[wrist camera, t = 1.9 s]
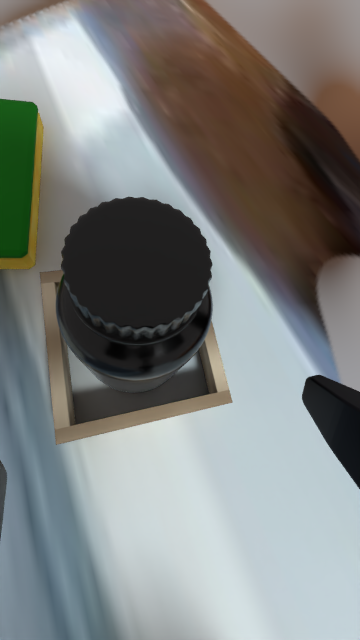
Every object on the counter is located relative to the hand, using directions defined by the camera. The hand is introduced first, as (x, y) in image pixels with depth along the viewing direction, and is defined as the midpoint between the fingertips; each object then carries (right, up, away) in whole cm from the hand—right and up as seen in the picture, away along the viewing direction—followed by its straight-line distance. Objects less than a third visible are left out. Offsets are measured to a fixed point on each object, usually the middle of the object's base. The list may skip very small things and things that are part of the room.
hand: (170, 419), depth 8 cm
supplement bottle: (-3, +1, +12) cm, 13 cm away
